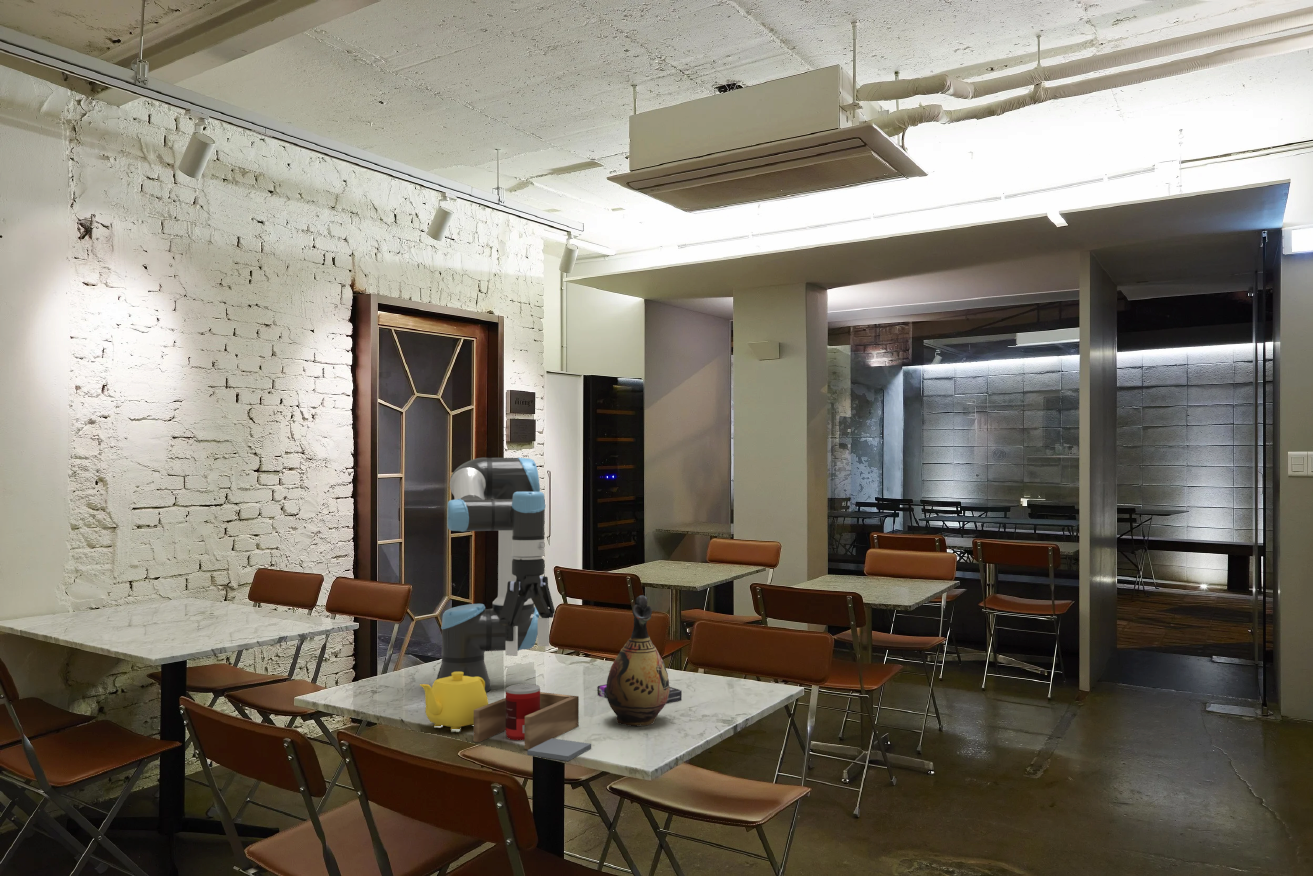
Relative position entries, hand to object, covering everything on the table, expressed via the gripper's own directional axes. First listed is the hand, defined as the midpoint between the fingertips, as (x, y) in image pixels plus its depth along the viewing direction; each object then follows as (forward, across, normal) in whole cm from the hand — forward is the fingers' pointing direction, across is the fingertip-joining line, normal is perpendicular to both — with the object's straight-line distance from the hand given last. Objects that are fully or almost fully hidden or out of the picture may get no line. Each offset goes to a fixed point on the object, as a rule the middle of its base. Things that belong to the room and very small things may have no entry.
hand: (527, 650), depth 211 cm
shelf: (+19, +1, 0) cm, 19 cm away
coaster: (+19, -8, -13) cm, 25 cm away
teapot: (+19, -2, +20) cm, 28 cm away
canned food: (+19, -1, 0) cm, 19 cm away
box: (+20, +43, -8) cm, 48 cm away
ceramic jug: (+19, +22, -18) cm, 34 cm away
